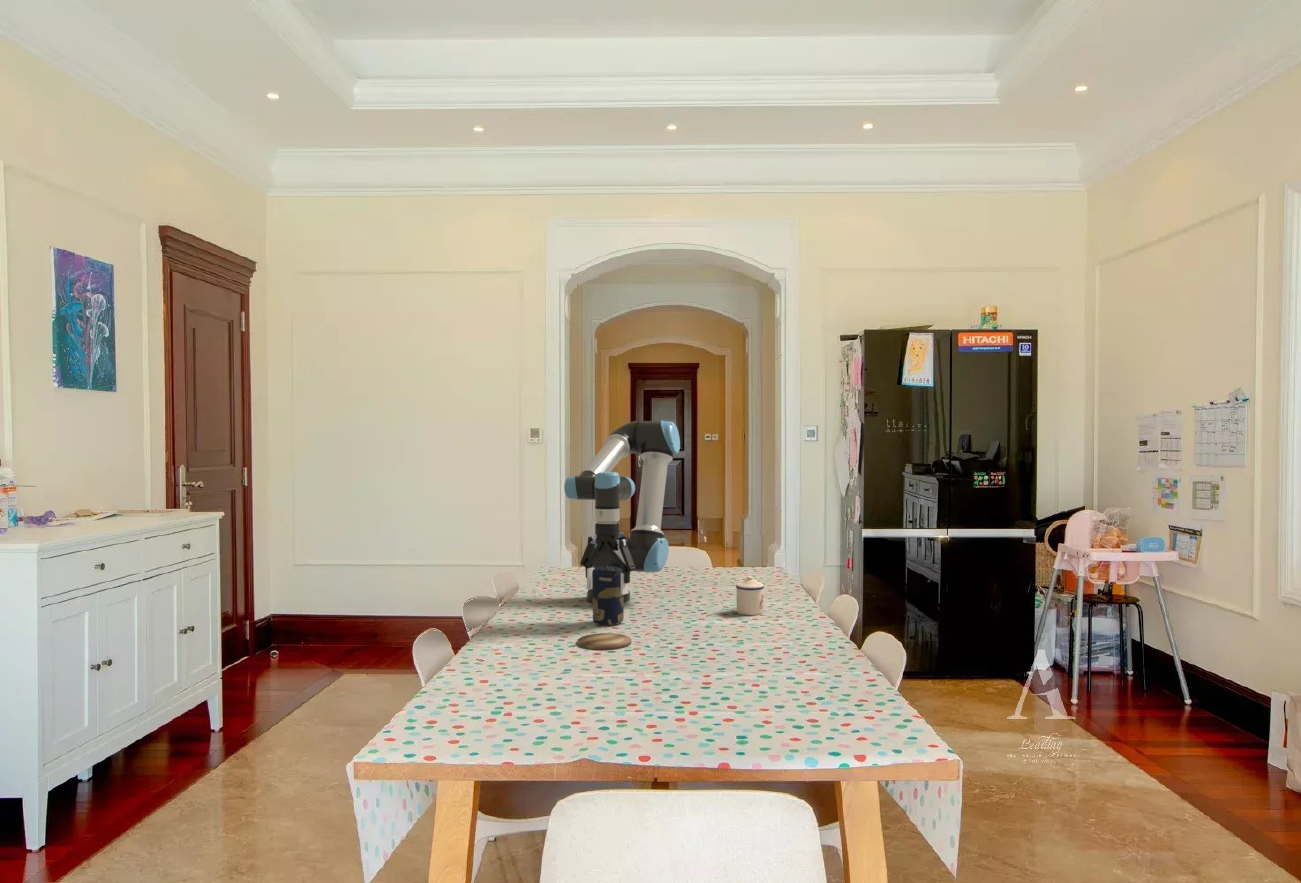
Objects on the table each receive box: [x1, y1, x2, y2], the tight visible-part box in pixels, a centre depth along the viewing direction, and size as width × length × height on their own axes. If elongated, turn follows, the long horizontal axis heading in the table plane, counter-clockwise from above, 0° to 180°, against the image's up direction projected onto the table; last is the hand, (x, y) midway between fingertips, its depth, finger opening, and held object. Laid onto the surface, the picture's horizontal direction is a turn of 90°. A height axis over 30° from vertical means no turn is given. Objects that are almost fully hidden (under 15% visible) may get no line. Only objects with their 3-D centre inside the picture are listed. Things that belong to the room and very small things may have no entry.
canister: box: [592, 565, 625, 626], centre depth 258 cm, size 10×10×18 cm
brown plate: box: [577, 632, 632, 651], centre depth 235 cm, size 15×15×1 cm
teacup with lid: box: [735, 575, 765, 616], centre depth 272 cm, size 12×9×12 cm
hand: (607, 591), depth 257 cm, fingers open, 13 cm apart
